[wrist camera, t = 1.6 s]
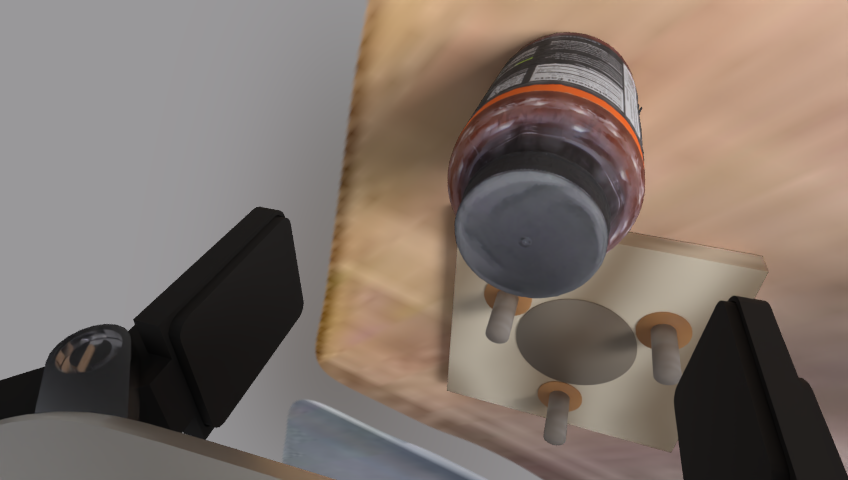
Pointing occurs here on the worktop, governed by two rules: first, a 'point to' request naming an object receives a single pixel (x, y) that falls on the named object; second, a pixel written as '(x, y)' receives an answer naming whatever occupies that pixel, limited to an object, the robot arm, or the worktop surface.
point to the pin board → (597, 338)
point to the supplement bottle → (549, 167)
